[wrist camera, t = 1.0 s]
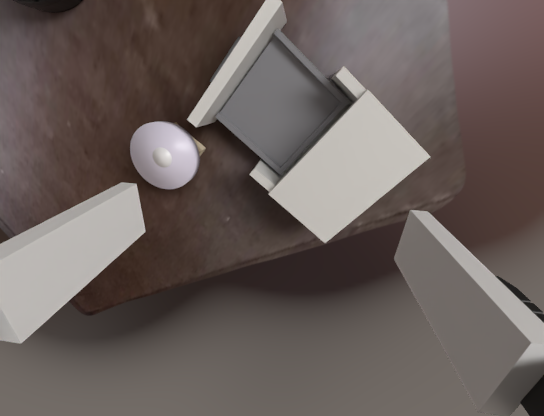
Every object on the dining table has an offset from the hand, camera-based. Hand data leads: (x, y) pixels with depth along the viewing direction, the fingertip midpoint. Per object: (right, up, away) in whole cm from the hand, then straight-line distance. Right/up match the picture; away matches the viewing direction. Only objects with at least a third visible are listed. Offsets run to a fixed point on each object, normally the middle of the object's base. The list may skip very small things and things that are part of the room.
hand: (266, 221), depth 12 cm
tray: (+1, +13, +18) cm, 22 cm away
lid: (-13, +7, +19) cm, 24 cm away
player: (+8, +8, +20) cm, 23 cm away
